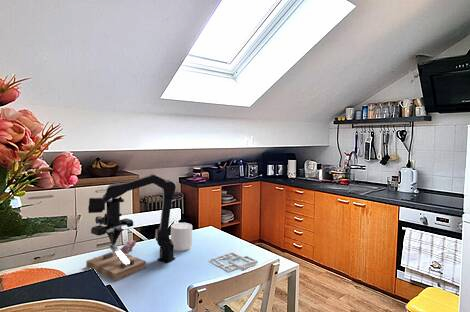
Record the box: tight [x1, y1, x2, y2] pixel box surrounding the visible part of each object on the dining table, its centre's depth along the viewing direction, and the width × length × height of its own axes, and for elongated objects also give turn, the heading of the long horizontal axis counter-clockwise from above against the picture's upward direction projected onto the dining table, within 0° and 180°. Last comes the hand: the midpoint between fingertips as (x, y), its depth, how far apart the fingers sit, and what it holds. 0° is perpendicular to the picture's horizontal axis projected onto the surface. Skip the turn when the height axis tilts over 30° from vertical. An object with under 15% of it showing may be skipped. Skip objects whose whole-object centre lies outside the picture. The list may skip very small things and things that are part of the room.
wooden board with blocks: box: [85, 251, 147, 282], centre depth 139 cm, size 22×16×3 cm
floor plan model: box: [208, 251, 258, 273], centre depth 151 cm, size 19×25×2 cm
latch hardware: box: [102, 251, 134, 268], centre depth 139 cm, size 16×6×2 cm, turn 57°
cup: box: [170, 222, 193, 252], centre depth 167 cm, size 12×12×12 cm
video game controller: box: [119, 239, 137, 254], centre depth 158 cm, size 10×5×7 cm, turn 169°
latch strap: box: [108, 243, 131, 267], centre depth 138 cm, size 14×3×1 cm, turn 58°
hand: (113, 244), depth 140 cm, fingers closed
